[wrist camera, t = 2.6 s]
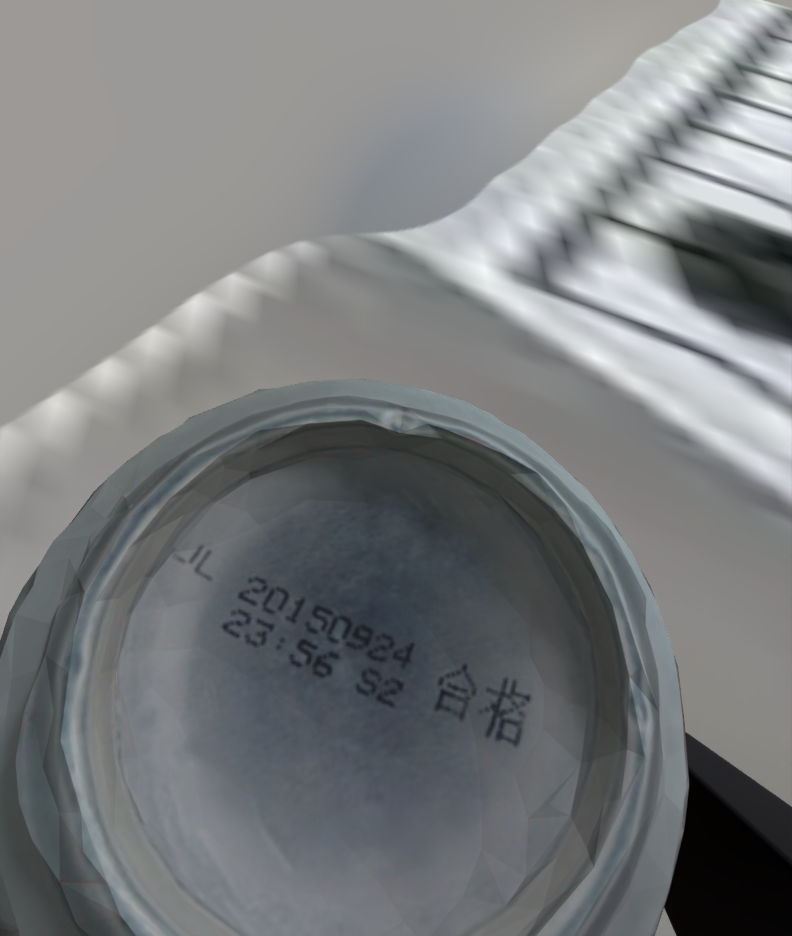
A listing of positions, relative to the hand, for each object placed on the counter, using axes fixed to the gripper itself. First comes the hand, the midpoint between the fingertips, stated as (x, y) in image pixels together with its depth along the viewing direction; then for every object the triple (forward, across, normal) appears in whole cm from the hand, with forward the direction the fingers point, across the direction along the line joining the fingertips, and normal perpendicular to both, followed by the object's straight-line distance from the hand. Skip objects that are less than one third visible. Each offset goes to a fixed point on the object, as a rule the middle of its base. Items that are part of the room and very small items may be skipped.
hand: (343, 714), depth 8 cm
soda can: (+6, 0, +6) cm, 8 cm away
